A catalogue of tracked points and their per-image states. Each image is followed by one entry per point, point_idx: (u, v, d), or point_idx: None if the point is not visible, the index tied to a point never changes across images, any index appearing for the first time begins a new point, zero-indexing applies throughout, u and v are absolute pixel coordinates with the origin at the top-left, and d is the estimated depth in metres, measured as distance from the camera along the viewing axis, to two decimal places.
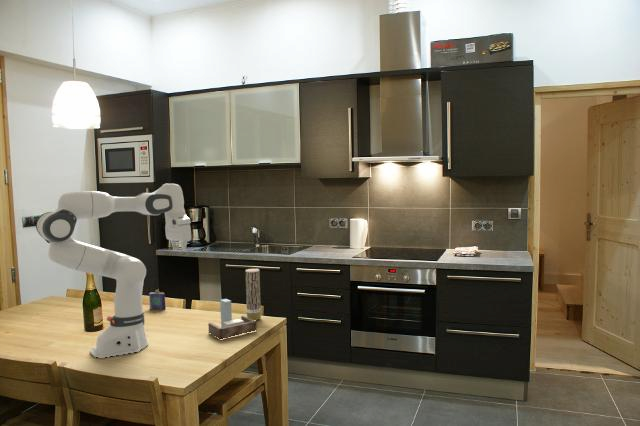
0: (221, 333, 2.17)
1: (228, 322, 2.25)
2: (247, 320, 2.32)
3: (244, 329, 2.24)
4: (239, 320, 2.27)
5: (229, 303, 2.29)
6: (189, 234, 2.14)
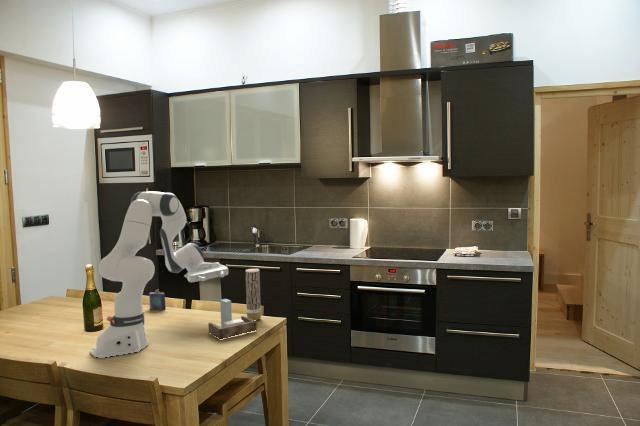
0: (221, 333, 2.17)
1: (228, 322, 2.25)
2: (247, 320, 2.32)
3: (244, 329, 2.24)
4: (239, 320, 2.27)
5: (229, 303, 2.29)
6: None
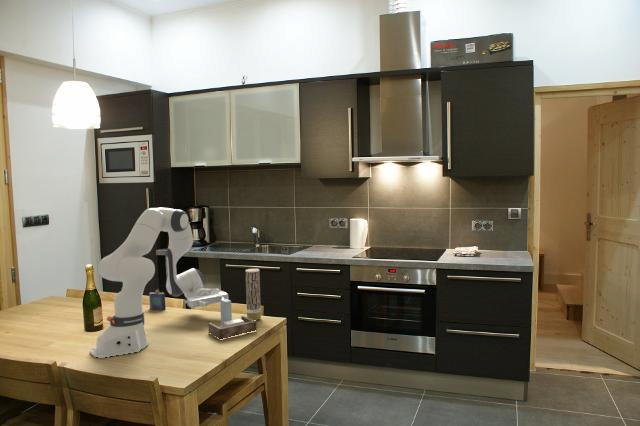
0: (221, 333, 2.17)
1: (228, 322, 2.25)
2: (247, 320, 2.32)
3: (244, 329, 2.24)
4: (239, 320, 2.27)
5: (229, 303, 2.29)
6: None
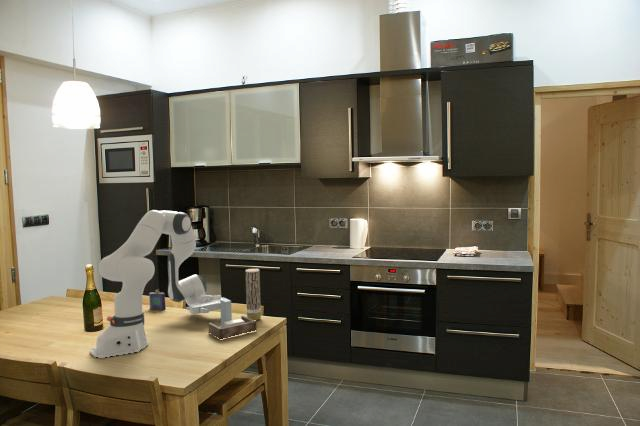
0: (221, 333, 2.17)
1: (228, 322, 2.25)
2: (247, 320, 2.32)
3: (244, 329, 2.24)
4: (240, 320, 2.27)
5: (229, 303, 2.29)
6: None
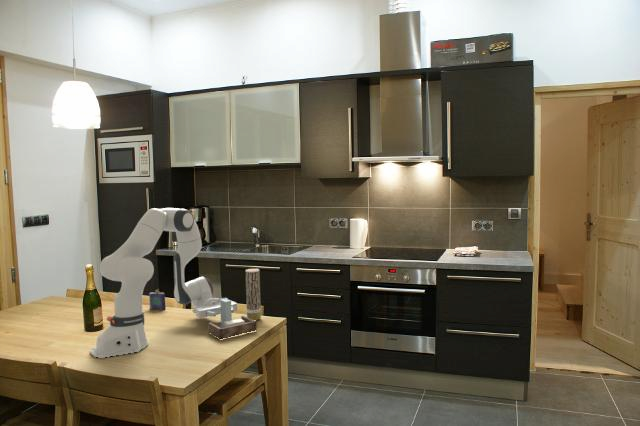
0: (221, 333, 2.17)
1: (229, 322, 2.25)
2: (247, 320, 2.32)
3: (244, 329, 2.24)
4: (240, 320, 2.27)
5: (229, 303, 2.29)
6: None
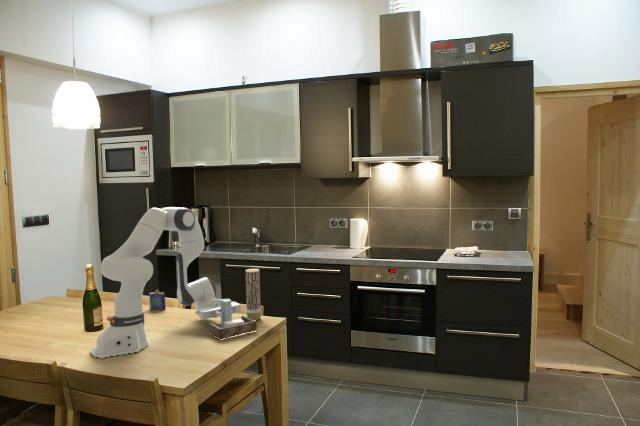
0: (221, 333, 2.17)
1: (228, 322, 2.25)
2: (247, 320, 2.32)
3: (244, 329, 2.24)
4: (240, 320, 2.27)
5: (229, 303, 2.29)
6: None
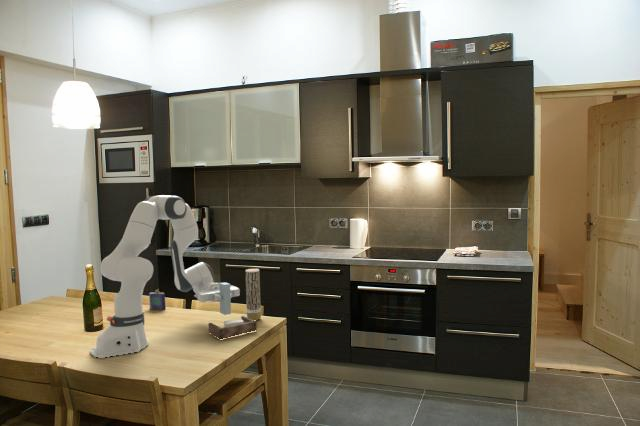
0: (221, 333, 2.17)
1: (228, 321, 2.26)
2: (247, 320, 2.32)
3: (244, 329, 2.24)
4: (240, 320, 2.27)
5: (228, 286, 2.29)
6: None
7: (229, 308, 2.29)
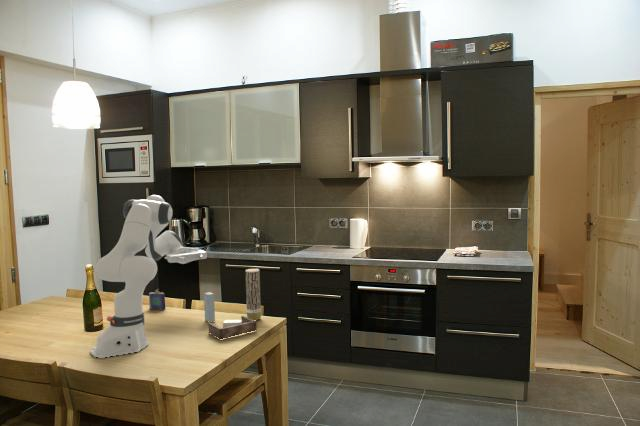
0: (221, 333, 2.17)
1: (227, 321, 2.27)
2: (247, 320, 2.32)
3: (244, 329, 2.24)
4: (238, 321, 2.26)
5: (212, 296, 2.44)
6: None
7: (213, 316, 2.45)
